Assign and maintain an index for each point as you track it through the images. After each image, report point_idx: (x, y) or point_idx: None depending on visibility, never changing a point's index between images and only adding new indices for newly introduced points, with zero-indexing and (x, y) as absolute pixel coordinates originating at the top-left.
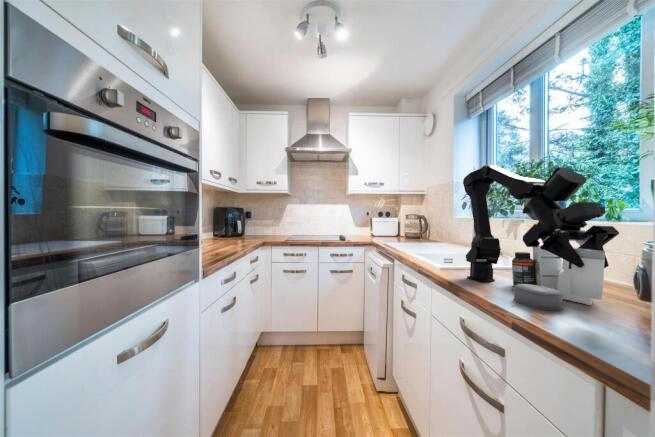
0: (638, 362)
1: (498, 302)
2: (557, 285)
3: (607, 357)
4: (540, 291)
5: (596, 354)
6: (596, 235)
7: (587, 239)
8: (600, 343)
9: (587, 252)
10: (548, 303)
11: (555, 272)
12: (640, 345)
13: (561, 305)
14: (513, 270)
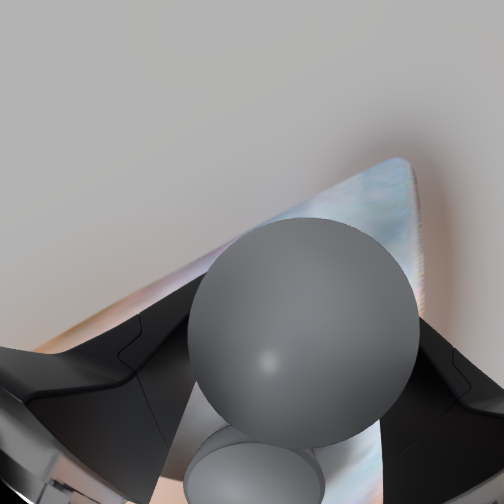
0: (365, 178)
1: (372, 478)
2: (126, 501)
3: (401, 197)
4: (279, 473)
5: (410, 207)
6: (55, 392)
7: (81, 485)
8: None
9: (397, 269)
10: None
11: None
12: (280, 220)
13: (229, 429)
14: None
